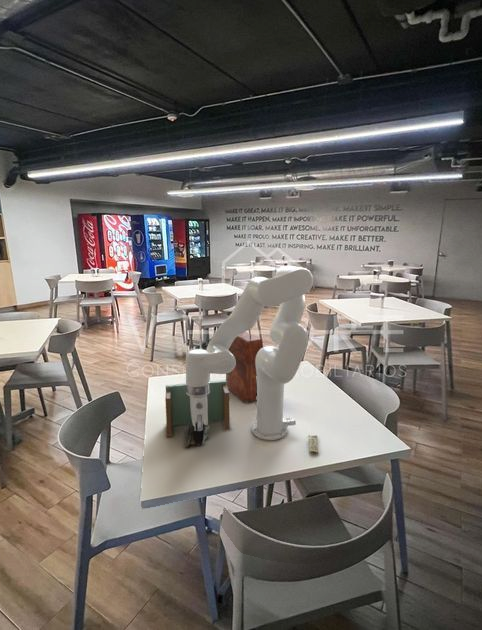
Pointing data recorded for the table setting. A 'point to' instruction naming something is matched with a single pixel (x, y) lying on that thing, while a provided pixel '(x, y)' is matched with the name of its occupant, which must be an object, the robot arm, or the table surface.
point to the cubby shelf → (180, 405)
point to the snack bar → (313, 443)
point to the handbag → (244, 366)
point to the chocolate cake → (190, 434)
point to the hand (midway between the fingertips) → (198, 439)
